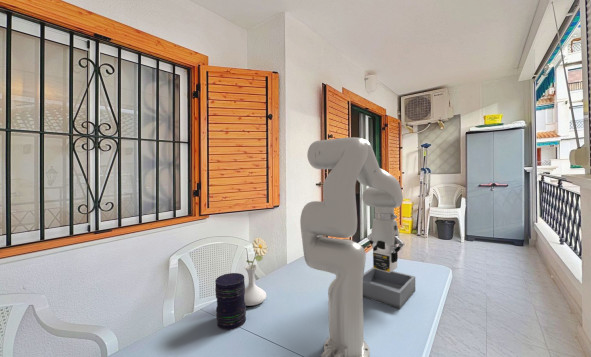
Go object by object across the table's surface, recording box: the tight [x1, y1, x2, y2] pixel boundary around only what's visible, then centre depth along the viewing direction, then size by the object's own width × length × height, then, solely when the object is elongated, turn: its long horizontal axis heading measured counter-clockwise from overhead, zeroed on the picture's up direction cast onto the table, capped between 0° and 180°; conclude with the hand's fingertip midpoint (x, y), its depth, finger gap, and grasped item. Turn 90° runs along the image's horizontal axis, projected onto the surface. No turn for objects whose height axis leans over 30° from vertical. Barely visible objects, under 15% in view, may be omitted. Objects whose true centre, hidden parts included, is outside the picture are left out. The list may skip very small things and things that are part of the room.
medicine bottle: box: [372, 241, 398, 273], centre depth 106 cm, size 7×7×12 cm
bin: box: [363, 267, 416, 310], centre depth 106 cm, size 18×18×6 cm
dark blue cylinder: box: [214, 272, 247, 331], centre depth 89 cm, size 10×10×15 cm
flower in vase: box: [244, 236, 269, 307], centre depth 102 cm, size 13×11×25 cm
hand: (385, 258), depth 106 cm, fingers closed on medicine bottle, 7 cm apart
